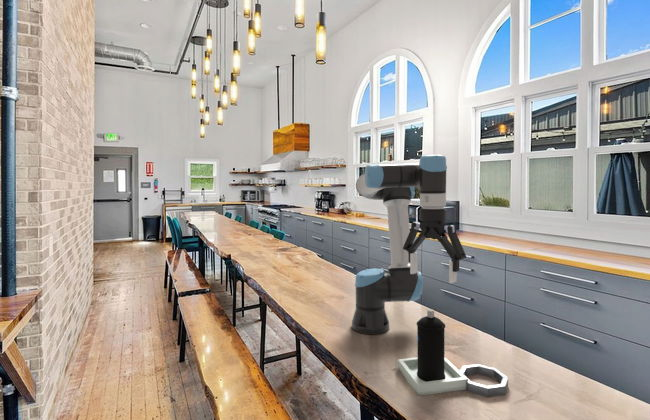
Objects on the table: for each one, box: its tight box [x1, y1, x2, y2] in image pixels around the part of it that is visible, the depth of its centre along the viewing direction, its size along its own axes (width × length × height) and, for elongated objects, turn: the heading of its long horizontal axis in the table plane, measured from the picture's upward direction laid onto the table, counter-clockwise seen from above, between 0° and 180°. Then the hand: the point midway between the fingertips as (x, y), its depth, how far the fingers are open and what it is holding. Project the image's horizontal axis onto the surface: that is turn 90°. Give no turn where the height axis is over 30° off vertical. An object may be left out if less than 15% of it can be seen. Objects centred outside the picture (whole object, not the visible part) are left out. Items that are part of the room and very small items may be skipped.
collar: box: [459, 363, 509, 398], centre depth 104 cm, size 12×12×2 cm
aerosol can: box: [416, 308, 446, 382], centre depth 107 cm, size 8×8×20 cm
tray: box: [397, 356, 469, 397], centre depth 107 cm, size 15×15×3 cm
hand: (432, 277), depth 109 cm, fingers open, 13 cm apart
